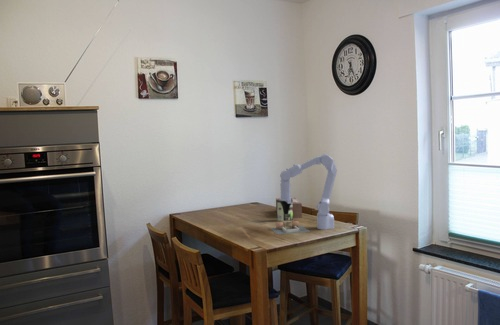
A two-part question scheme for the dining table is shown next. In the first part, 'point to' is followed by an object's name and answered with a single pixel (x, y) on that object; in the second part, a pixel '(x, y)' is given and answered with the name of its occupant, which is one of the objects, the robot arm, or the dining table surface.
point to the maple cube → (287, 224)
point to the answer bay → (291, 229)
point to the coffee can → (280, 213)
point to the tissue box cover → (295, 208)
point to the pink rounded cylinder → (295, 224)
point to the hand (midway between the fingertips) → (286, 214)
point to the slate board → (302, 229)
